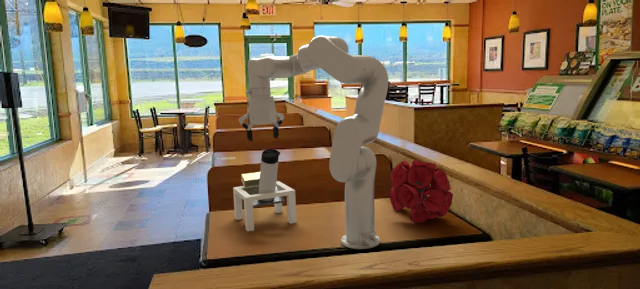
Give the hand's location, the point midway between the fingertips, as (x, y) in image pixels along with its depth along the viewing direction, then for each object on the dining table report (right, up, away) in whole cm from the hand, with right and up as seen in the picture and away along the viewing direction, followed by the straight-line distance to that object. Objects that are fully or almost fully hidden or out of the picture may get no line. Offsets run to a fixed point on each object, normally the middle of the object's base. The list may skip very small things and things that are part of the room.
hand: (263, 139), depth 164 cm
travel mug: (+1, -22, +5) cm, 22 cm away
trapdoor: (-2, -21, +8) cm, 22 cm away
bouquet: (+58, -30, +4) cm, 65 cm away
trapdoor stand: (0, -31, +7) cm, 32 cm away
